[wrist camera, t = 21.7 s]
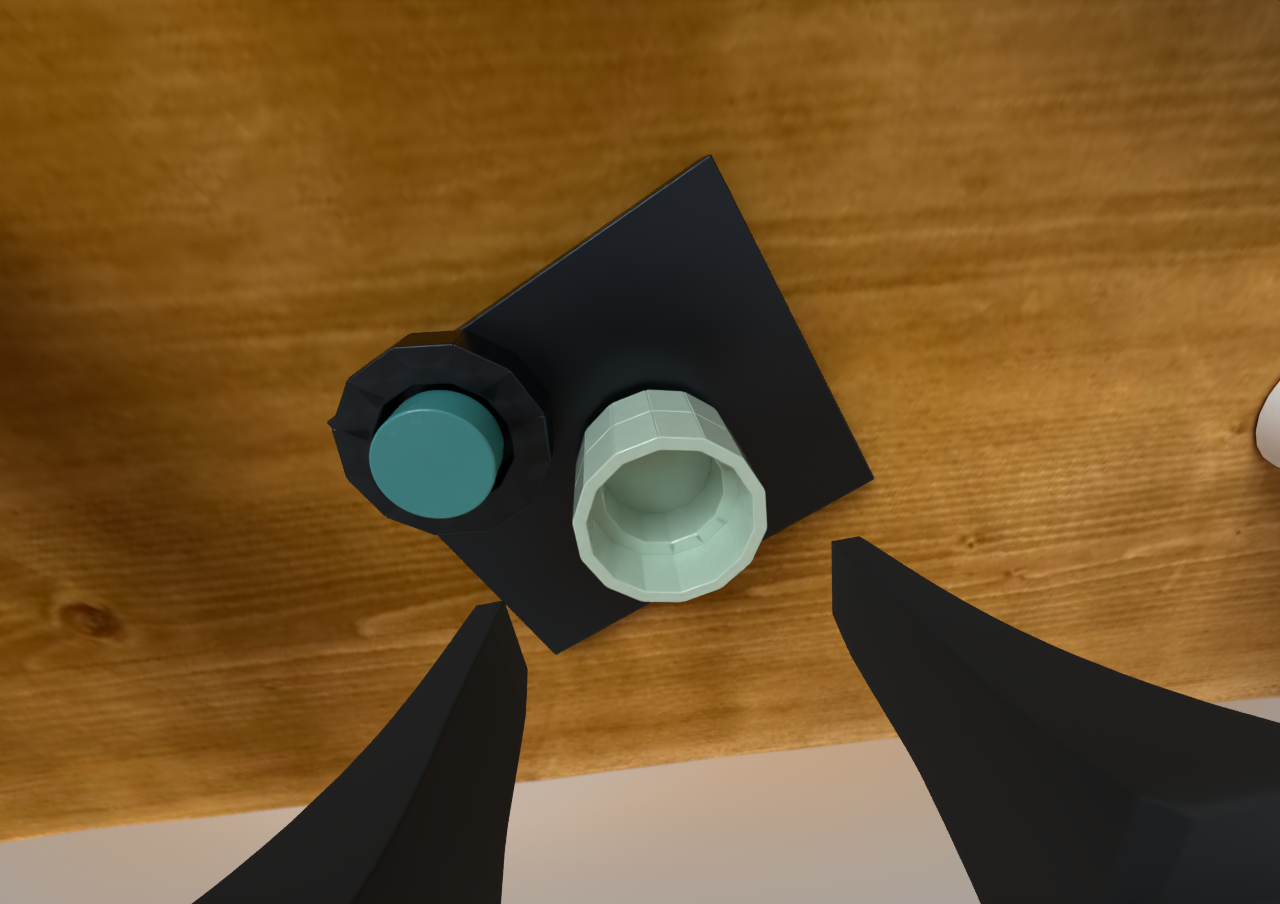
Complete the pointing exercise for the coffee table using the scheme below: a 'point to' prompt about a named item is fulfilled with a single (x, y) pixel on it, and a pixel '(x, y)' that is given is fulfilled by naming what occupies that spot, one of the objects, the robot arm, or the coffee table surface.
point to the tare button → (437, 454)
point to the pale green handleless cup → (665, 499)
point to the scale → (613, 391)
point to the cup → (1270, 428)
